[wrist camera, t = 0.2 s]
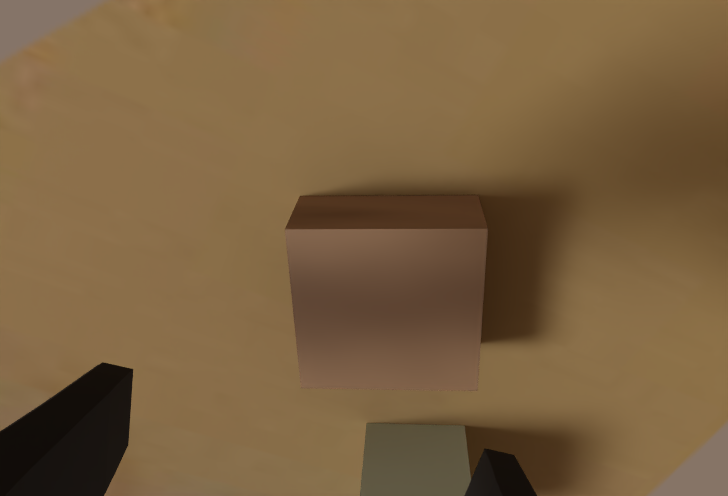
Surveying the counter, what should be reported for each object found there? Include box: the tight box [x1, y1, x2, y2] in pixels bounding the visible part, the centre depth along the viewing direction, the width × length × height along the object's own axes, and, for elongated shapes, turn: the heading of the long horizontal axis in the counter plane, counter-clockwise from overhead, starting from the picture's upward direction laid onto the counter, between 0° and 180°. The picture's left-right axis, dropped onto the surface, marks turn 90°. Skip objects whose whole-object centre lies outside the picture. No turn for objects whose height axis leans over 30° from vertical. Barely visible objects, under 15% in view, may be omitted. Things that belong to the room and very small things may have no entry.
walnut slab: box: [285, 195, 488, 391], centre depth 20 cm, size 6×6×3 cm
